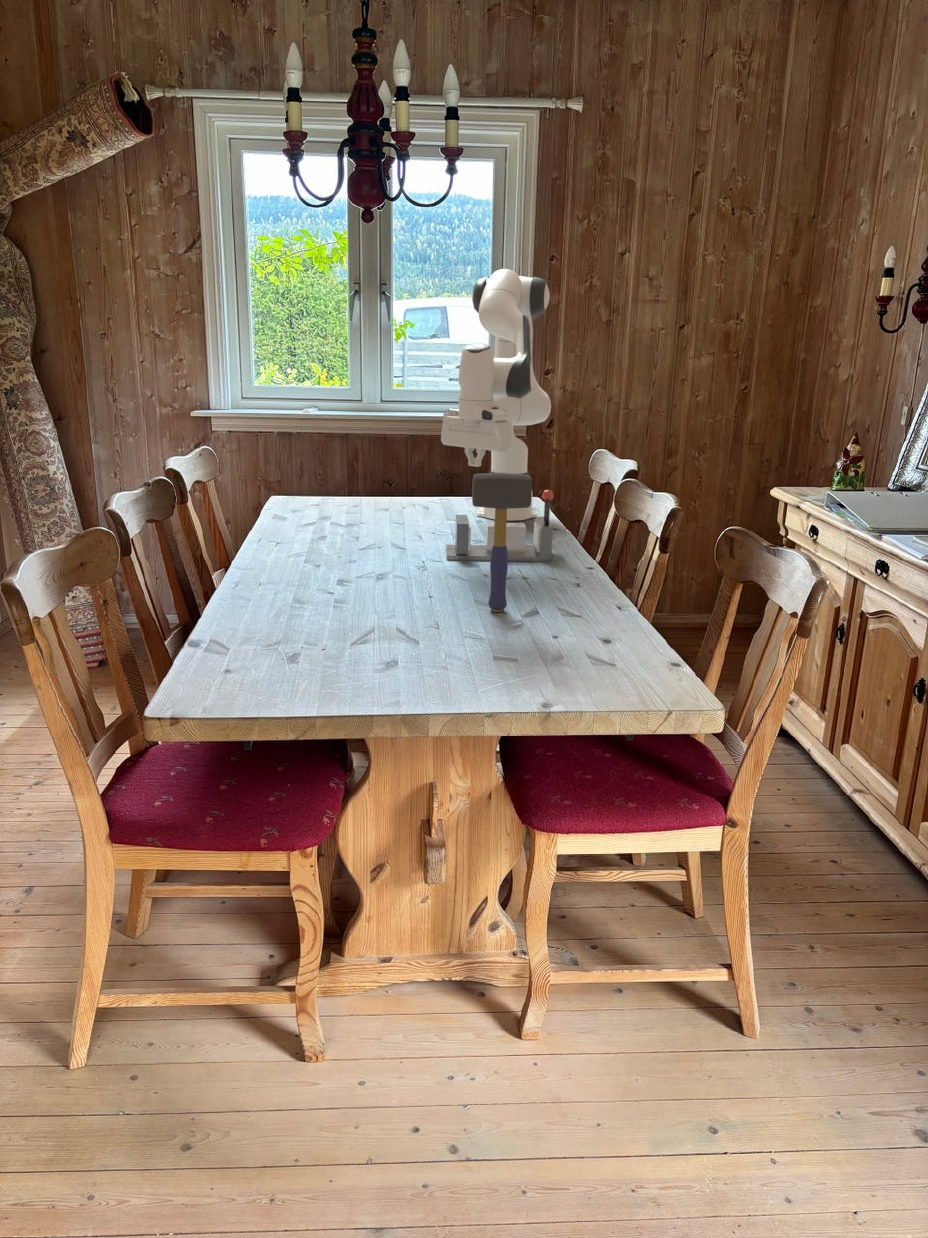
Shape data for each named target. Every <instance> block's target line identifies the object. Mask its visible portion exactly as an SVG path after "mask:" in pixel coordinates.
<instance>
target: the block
mask: <svg viewBox="0 0 928 1238" xmlns="http://www.w3.org/2000/svg"><path fill="white" fill-rule="evenodd" d="M485 525H486V529H485V534H486V535H485V545H486V551H487V553H491V552H492V547H493V545H494V528H495V522H489V521H488V522H486V524H485ZM526 532H527V526H526V524H525V522H506V547H507V553H525V546H526V541H527V540H526V538H527V536H526V535H527V533H526Z"/></svg>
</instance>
